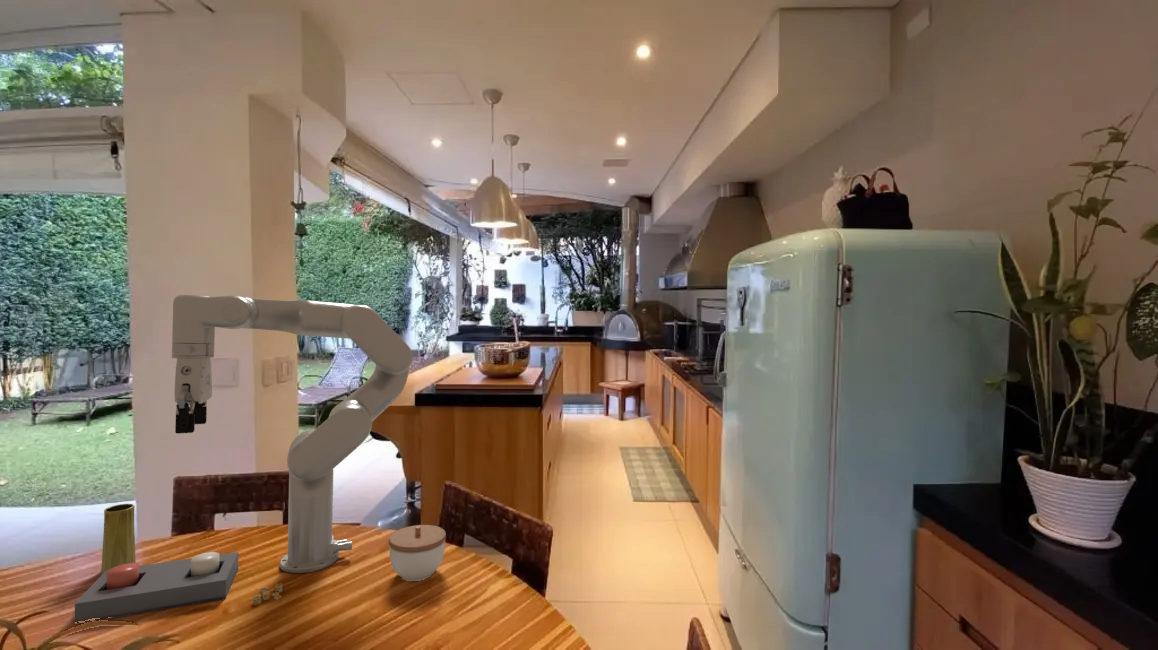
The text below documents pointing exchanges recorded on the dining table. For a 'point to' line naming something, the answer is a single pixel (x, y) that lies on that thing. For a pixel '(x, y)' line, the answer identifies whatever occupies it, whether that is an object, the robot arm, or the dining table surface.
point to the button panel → (158, 589)
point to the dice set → (268, 594)
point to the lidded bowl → (417, 551)
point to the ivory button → (205, 564)
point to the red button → (123, 576)
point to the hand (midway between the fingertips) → (191, 428)
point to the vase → (118, 536)
